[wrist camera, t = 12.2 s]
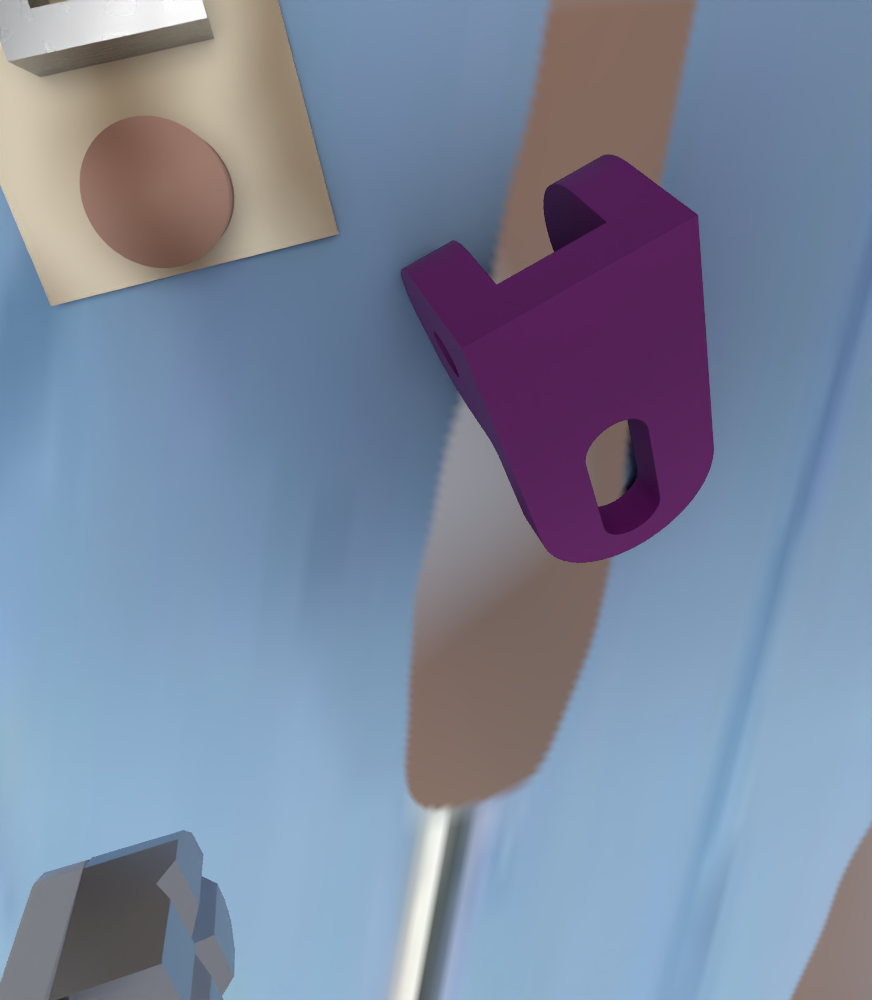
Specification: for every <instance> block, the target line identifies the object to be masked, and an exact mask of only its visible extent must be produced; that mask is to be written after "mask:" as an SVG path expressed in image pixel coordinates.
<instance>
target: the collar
mask: <svg viewBox="0 0 872 1000" xmlns="http://www.w3.org/2000/svg"><path fill="white" fill-rule="evenodd" d="M211 39H214V36H213V32H212V29H211V25H210V22H209V18H208V15H207V12H206V8H205V5H204V1H203V0H68V1H64V2H59V3H54V4H50V1H49V0H0V43H1V45H2V48H3V51H4V53H5V56H6V58H7V61H8V62H10V63H12V64H14V65H16V66H18V67H20V68H22V69H24V70H26V71H28V72H30V73H32V74H35V75H37V76H39V77H44V76H49V75H53V74H58V73H62V72H67V71H71V70H76V69H80V68H85V67H89V66H94V65H98V64H103V63H107V62H112V61H116V60H121V59H125V58H130V57H134V56H139V55H143V54H148V53H152V52H157V51H161V50H166V49H170V48H175V47H179V46H184V45H188V44H193V43H197V42H202V41H206V40H211Z"/></svg>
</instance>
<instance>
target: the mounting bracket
mask: <svg viewBox="0 0 872 1000" xmlns="http://www.w3.org/2000/svg"><path fill="white" fill-rule="evenodd" d="M544 216H545V222H546V227H547V231H548V234H549V238H550V242H551V245H552V248H553V250H554V253H552V254H550V255H548V256H547V257H545V258H543V259H541V260H540V261H538V262H536V263H534V264H533V265H531V266H529V267H527V268H525V269H524V270H522V271H520V272H519V273H517V274H515V275H513V276H511V277H510V278H508V279H506V280H504V281H503V282H501V283H499V284H497V285H496V284H495V282H494V281H493V280H492V279H491V278H490V277H489V275H488V274H487V273H486V272H485V271H484V270H483V268H482V267H481V266H480V265H479V264H478V263H477V261H476V260H475V259H474V258H473V257H472V256H471V254H470V253H469V252H468V251H467V250H466V249H465V248H464V247H463V246H462V245H461V244H460V243H458V242H457V241H451V242H449V243H448V244H446V245H444V246H442V247H440V248H439V249H437V250H435V251H433V252H432V253H430V254H428V255H426V256H425V257H423V258H421V259H419V260H418V261H416V262H414V263H412V264H410V265H409V266H407V267H405V268H403V269H402V270H401V276H402V280H403V283H404V286H405V288H406V291H407V293H408V296H409V298H410V300H411V303H412V305H413V307H414V309H415V311H416V313H417V316H418V318H419V320H420V321H421V323H422V325H423V327H424V329H425V331H426V333H427V335H428V337H429V339H430V341H431V343H432V345H433V347H434V349H435V351H436V352H437V354H438V356H439V358H440V360H441V362H442V364H443V366H444V367H445V369H446V371H447V373H448V374H449V376H450V378H451V380H452V381H453V383H454V385H455V386H456V388H457V390H458V391H459V393H460V395H461V396H462V398H463V400H464V401H465V403H466V404H467V406H468V407H469V409H470V410H471V412H472V413H473V415H474V416H475V418H476V419H477V421H478V422H479V424H480V425H481V427H482V428H483V430H484V431H485V432H486V434H487V436H488V437H489V439H490V440H491V442H492V444H493V446H494V448H495V449H496V451H497V453H498V455H499V458H500V460H501V462H502V465H503V467H504V469H505V471H506V474H507V476H508V479H509V481H510V483H511V486H512V488H513V490H514V493H515V495H516V497H517V500H518V502H519V504H520V507H521V509H522V511H523V514H524V515H525V517H526V519H527V521H528V522H529V524H530V525H531V527H532V528H533V530H534V531H535V533H536V534H537V536H538V537H539V539H540V541H541V542H542V544H543V545H544V547H545V548H546V549H547V550H548V552H549V553H551V554H552V555H553V556H554V557H556V558H558V559H561V560H564V561H568V562H576V563H584V562H593V561H598V560H603V559H606V558H610V557H613V556H615V555H618V554H621V553H623V552H625V551H627V550H630V549H632V548H634V547H636V546H637V545H639V544H641V543H643V542H644V541H646V540H647V539H649V538H651V537H652V536H654V535H655V534H656V533H658V532H659V531H661V530H662V529H663V528H664V527H666V526H667V525H668V524H669V523H670V522H671V521H673V520H674V519H675V518H676V517H677V516H678V515H679V514H680V513H681V512H682V511H683V510H684V509H685V508H686V506H687V505H688V504H689V503H690V502H691V501H692V499H693V498H694V497H695V495H696V494H697V492H698V491H699V490H700V488H701V486H702V485H703V483H704V481H705V479H706V477H707V475H708V472H709V470H710V467H711V464H712V460H713V453H714V445H713V430H712V416H711V401H710V386H709V372H708V357H707V342H706V327H705V313H704V298H703V283H702V269H701V254H700V239H699V225H698V215H697V214H696V213H695V212H693V211H692V210H691V209H689V208H688V207H686V206H685V205H684V204H682V203H681V202H680V201H678V200H677V199H676V198H674V197H673V196H672V195H670V194H669V193H668V192H666V191H665V190H664V189H662V188H661V187H660V186H658V185H657V184H656V183H654V182H653V181H652V180H650V179H649V178H648V177H646V176H645V175H644V174H642V173H641V172H640V171H638V170H637V169H636V168H634V167H633V166H631V165H630V164H629V163H628V162H626V161H625V160H623V159H621V158H619V157H617V156H614V155H603V156H601V157H600V158H598V159H596V160H594V161H592V162H590V163H589V164H587V165H585V166H583V167H582V168H580V169H578V170H576V171H575V172H573V173H571V174H569V175H567V176H566V177H564V178H562V179H560V180H559V181H557V182H555V183H553V184H552V185H550V186H549V187H548V188H547V189H546V191H545V195H544ZM623 420H628V425H629V430H630V435H631V440H632V445H633V450H634V455H635V460H636V464H637V470H638V473H637V477H636V480H635V482H634V484H633V485H632V486H631V488H630V489H629V490H628V491H627V492H626V493H625V494H624V495H623V496H622V497H620V498H619V499H617V500H616V501H614V502H612V503H610V504H608V505H605V506H600V507H598V506H597V502H596V499H595V495H594V492H593V488H592V485H591V481H590V478H589V474H588V471H587V467H586V463H585V460H586V454H587V451H588V449H589V447H590V446H591V444H592V442H593V441H594V440H595V439H596V438H597V437H598V436H599V435H600V434H601V433H602V432H603V431H604V430H606V429H607V428H608V427H610V426H612V425H613V424H615V423H618V422H620V421H623Z"/></svg>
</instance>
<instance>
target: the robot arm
mask: <svg viewBox="0 0 872 1000" xmlns="http://www.w3.org/2000/svg"><path fill="white" fill-rule="evenodd" d="M202 863H203V853H202V851H201V849H200V847H199V846H198V844H197V842H196V840H195V838H194V836H193V834H192V833H191V832H188V831H184V830H183V831H179V832H176V833H173V834H169V835H166V836H163V837H159V838H156V839H153V840H149V841H146V842H143V843H139V844H136V845H133V846H129V847H126V848H123V849H119V850H116V851H113V852H109V853H106V854H103V855H99V856H96V857H92V858H91V860H86V861H82V862H79V863H76V864H72V865H69V866H66V867H62V868H59V869H56V870H52V871H49V872H46V873H43V875H42V876H41V877H40V878H39V879H38V880H37V881H36V882H35V883H34V885H33V887H32V889H31V892H30V895H29V898H28V901H27V904H26V907H25V910H24V913H23V916H22V919H21V922H20V925H19V928H18V931H17V934H16V937H15V940H14V943H13V946H12V949H11V952H10V955H9V958H8V961H7V964H6V967H5V970H4V973H3V976H2V979H1V982H0V1000H223V998H222V995H223V994H224V992H225V990H226V989H227V987H228V985H229V984H230V982H231V980H232V979H233V977H234V959H235V948H234V941H233V933H232V925H231V919H230V916H229V913H228V909H227V906H226V903H225V899H224V897H223V895H222V893H221V891H220V889H219V886H218V884H217V883H215V882H213V881H211V880H209V879H206V878H204V877H202Z"/></svg>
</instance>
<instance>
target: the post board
mask: <svg viewBox="0 0 872 1000" xmlns="http://www.w3.org/2000/svg"><path fill="white" fill-rule="evenodd" d="M49 1H50V4H54V3H59V2H64V1H68V0H49ZM203 1H204V5H205V8H206V12H207V15H208V18H209V22H210V25H211V29H212V32H213V36H214V39H211V40H206V41H202V42H197V43H193V44H188V45H184V46H179V47H175V48H170V49H166V50H161V51H157V52H152V53H148V54H143V55H139V56H134V57H130V58H125V59H121V60H116V61H112V62H107V63H103V64H98V65H94V66H89V67H85V68H80V69H76V70H71V71H67V72H62V73H58V74H53V75H49V76H44V77H39V76H37V75H35V74H32V73H30V72H28V71H26V70H24V69H22V68H20V67H18V66H16V65H14V64H12V63H10V62H8V61H7V58H6V56H5V53H4V51H3V48H2V45H1V43H0V185H1V188H2V190H3V192H4V195H5V197H6V200H7V202H8V204H9V207H10V209H11V211H12V214H13V216H14V219H15V221H16V223H17V226H18V228H19V231H20V233H21V235H22V238H23V240H24V242H25V245H26V247H27V250H28V252H29V254H30V257H31V259H32V261H33V264H34V266H35V269H36V271H37V273H38V276H39V278H40V281H41V283H42V285H43V288H44V290H45V292H46V295H47V297H48V300H49V302H50V304H51V306H54V305H58V304H62V303H66V302H70V301H74V300H78V299H82V298H86V297H90V296H94V295H98V294H102V293H106V292H110V291H114V290H118V289H122V288H126V287H130V286H134V285H138V284H142V283H146V282H150V281H154V280H158V279H162V278H166V277H170V276H174V275H178V274H182V273H186V272H190V271H194V270H198V269H202V268H206V267H210V266H214V265H218V264H222V263H226V262H230V261H234V260H238V259H242V258H246V257H250V256H254V255H258V254H262V253H266V252H270V251H274V250H278V249H282V248H286V247H290V246H294V245H298V244H302V243H306V242H310V241H314V240H318V239H322V238H326V237H330V236H334V235H338V230H337V226H336V222H335V219H334V215H333V211H332V207H331V203H330V199H329V195H328V191H327V188H326V184H325V180H324V176H323V172H322V168H321V164H320V161H319V157H318V153H317V149H316V145H315V141H314V137H313V133H312V130H311V126H310V122H309V118H308V114H307V110H306V106H305V103H304V99H303V95H302V91H301V87H300V83H299V79H298V75H297V72H296V68H295V64H294V60H293V56H292V52H291V48H290V45H289V41H288V37H287V33H286V29H285V25H284V21H283V17H282V14H281V10H280V6H279V2H278V0H203Z"/></svg>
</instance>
